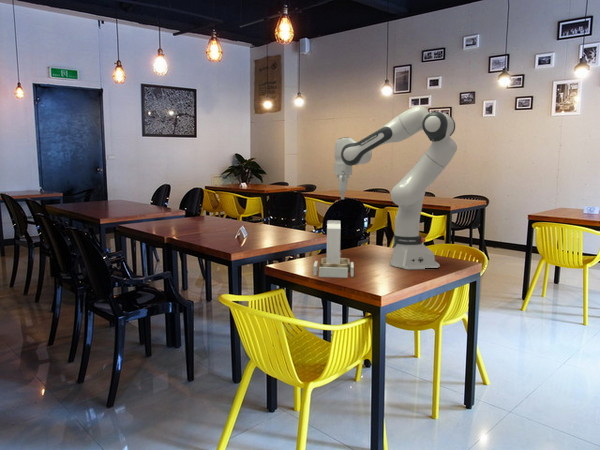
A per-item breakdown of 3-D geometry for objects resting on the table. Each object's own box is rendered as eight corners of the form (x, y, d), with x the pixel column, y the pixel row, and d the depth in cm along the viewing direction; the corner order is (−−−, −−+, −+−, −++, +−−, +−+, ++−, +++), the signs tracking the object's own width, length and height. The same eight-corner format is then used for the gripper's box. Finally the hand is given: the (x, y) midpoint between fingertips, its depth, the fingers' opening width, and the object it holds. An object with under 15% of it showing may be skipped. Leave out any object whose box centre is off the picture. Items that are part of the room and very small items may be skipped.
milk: (326, 267, 224) (327, 219, 221) (339, 267, 223) (340, 219, 220) (326, 270, 218) (326, 221, 215) (340, 270, 217) (340, 221, 214)
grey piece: (353, 270, 217) (353, 262, 216) (353, 278, 205) (353, 268, 204) (314, 269, 218) (315, 260, 218) (313, 276, 206) (313, 267, 206)
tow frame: (348, 259, 241) (348, 252, 240) (350, 271, 216) (350, 263, 216) (321, 258, 242) (322, 251, 241) (320, 270, 217) (320, 262, 217)
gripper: (349, 171, 230) (349, 201, 232) (349, 170, 250) (348, 197, 252) (336, 171, 230) (335, 200, 232) (337, 170, 250) (336, 197, 252)
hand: (342, 199), depth 242 cm, fingers closed
